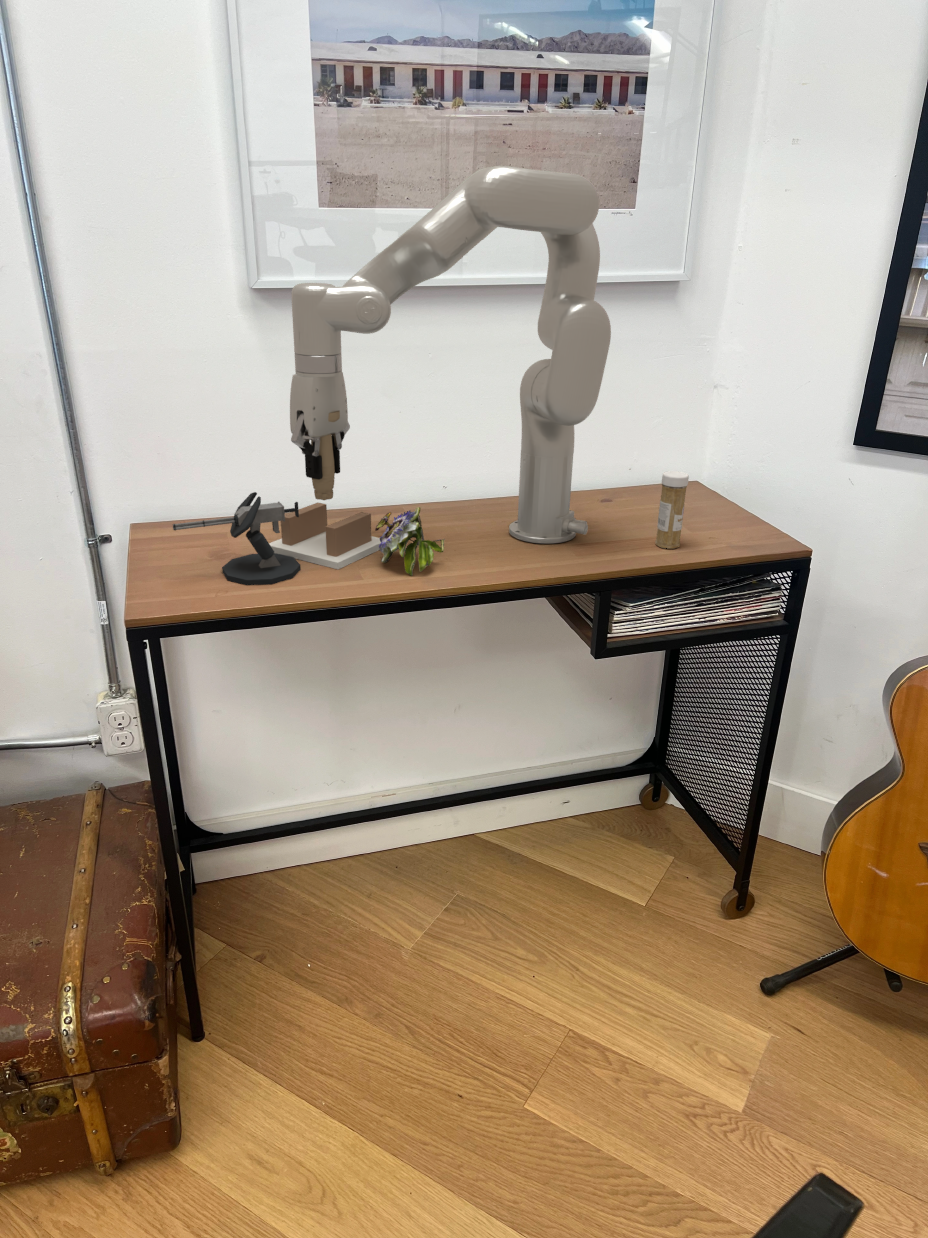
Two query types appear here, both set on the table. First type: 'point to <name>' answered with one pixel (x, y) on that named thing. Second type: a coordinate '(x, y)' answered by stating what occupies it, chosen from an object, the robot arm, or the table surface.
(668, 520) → the sprinkles bottle
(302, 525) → the white base with blocks
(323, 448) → the handle
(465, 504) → the table surface
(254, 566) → the gun turret
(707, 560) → the table surface
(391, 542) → the passion flower
